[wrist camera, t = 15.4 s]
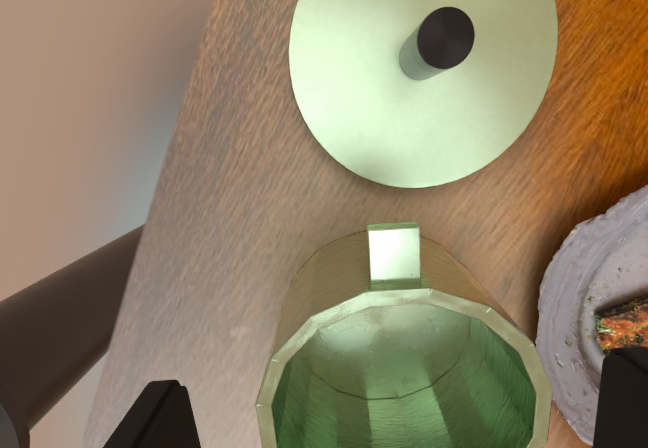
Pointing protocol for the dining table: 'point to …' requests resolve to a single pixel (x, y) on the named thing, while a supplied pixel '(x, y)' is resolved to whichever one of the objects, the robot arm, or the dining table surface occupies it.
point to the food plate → (594, 306)
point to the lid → (420, 82)
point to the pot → (398, 354)
